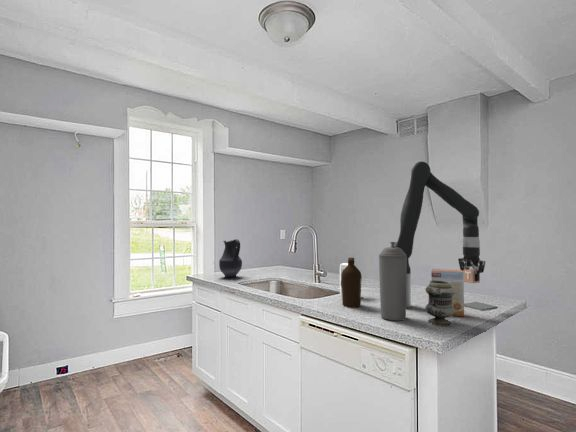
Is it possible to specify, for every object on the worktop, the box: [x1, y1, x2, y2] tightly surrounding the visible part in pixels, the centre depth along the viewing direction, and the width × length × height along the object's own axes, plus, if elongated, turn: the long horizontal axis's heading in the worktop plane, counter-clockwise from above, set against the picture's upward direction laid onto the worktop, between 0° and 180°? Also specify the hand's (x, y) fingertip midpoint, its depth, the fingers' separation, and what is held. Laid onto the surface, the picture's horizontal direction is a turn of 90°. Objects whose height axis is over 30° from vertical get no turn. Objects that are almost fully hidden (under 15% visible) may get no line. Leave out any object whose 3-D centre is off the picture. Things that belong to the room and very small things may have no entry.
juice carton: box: [339, 262, 357, 297], centre depth 212 cm, size 8×9×19 cm
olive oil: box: [341, 257, 363, 308], centre depth 190 cm, size 11×11×25 cm
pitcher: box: [218, 238, 243, 280], centre depth 278 cm, size 17×21×30 cm
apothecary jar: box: [424, 279, 455, 327], centre depth 158 cm, size 12×12×18 cm
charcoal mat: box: [464, 301, 498, 312], centre depth 185 cm, size 12×12×1 cm
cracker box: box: [430, 268, 465, 318], centre depth 172 cm, size 14×6×21 cm, turn 65°
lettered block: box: [463, 268, 481, 284], centre depth 179 cm, size 5×5×6 cm
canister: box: [378, 241, 407, 321], centre depth 166 cm, size 13×13×35 cm
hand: (471, 280), depth 179 cm, fingers closed on lettered block, 5 cm apart
